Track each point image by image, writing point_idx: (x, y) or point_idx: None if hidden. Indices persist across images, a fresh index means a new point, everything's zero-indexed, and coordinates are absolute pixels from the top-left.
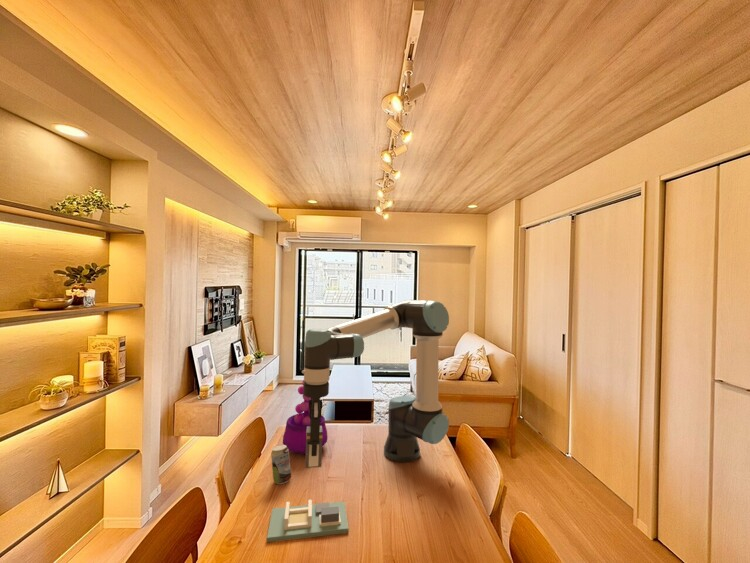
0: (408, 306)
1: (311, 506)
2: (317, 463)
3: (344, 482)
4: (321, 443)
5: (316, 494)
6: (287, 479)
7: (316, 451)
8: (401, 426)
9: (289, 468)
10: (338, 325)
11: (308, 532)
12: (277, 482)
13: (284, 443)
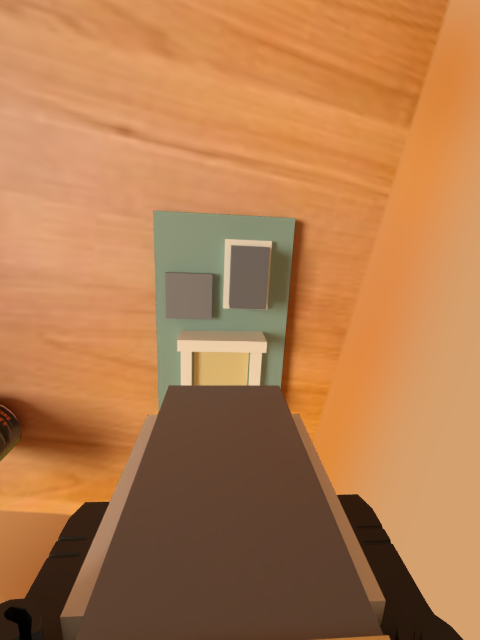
0: None
1: (217, 341)
2: (304, 430)
3: (3, 188)
4: (345, 548)
5: (82, 306)
6: (5, 413)
7: (386, 537)
8: None
9: None
10: None
11: (283, 340)
12: (18, 440)
13: None
